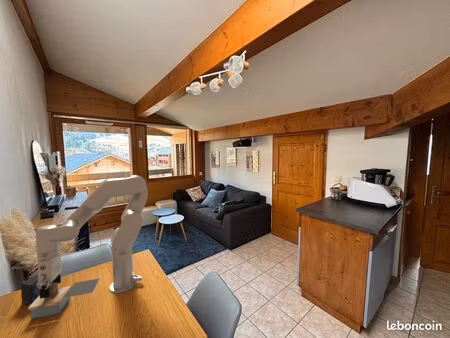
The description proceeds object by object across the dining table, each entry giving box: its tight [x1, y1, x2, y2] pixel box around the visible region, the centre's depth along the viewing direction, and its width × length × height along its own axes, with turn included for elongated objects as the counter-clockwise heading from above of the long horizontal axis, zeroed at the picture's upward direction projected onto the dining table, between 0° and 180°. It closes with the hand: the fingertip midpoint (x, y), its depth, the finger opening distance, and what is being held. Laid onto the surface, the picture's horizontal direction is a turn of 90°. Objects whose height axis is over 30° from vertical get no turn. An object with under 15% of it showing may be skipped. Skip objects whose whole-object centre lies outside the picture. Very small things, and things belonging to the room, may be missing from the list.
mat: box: [70, 277, 100, 298], centre depth 101 cm, size 12×12×1 cm
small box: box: [20, 274, 52, 306], centre depth 94 cm, size 11×6×10 cm, turn 168°
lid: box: [27, 282, 72, 311], centre depth 87 cm, size 11×11×6 cm
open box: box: [30, 291, 71, 321], centre depth 87 cm, size 10×10×5 cm
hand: (51, 290), depth 87 cm, fingers open, 9 cm apart
